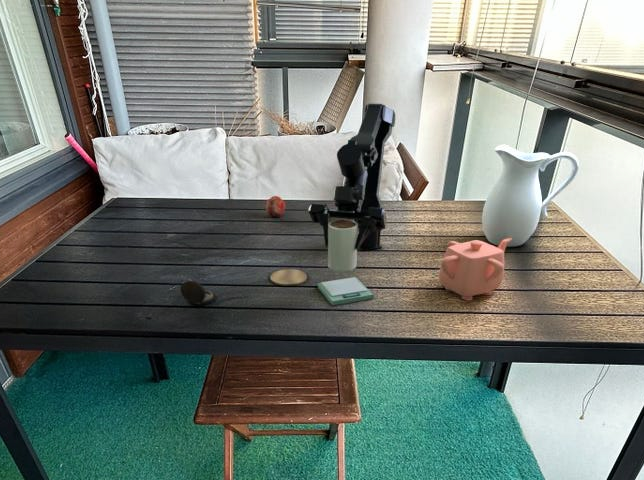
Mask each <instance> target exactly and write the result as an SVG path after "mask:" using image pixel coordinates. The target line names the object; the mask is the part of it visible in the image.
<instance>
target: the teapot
mask: <svg viewBox="0 0 644 480" xmlns="http://www.w3.org/2000/svg"><path fill="white" fill-rule="evenodd" d="M511 240H512V238H506V239H504V240H503V241H502V242H501V243H500V244H499V245H497V246H495V245H492V244H491V243H487V242H485V241H483V240H479V239H473V240H470V241H465V242H458V241H456V240H455V241H454V240H451V241H448V243H447V245H446V246H447V249H446V251H445V253H444V256H443V258H442V259H441V262H440V267H439V273H438V279H439V283H440V284H441V285H443V286H444V287H445V290H447V291H452V292H454V293H456V294H458V295H460V296H461V299H462V300H464V301H472V300H473V298H474V297H473V296H477V295H484V296H491V295H492V291H494V290H497V289H499V287H500V286H501V284H502V283H503V280H504V275H505V251H506V248H507V247H508V246H507V244H508V243H509V242H510V241H511Z"/></svg>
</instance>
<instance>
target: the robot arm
mask: <svg viewBox="0 0 644 480" xmlns="http://www.w3.org/2000/svg"><path fill="white" fill-rule="evenodd" d="M395 125H396V112H395V111H394V109H392V108H389V107H387V106H386V104H383V103H371V102H370V103H368V104H365V108H364V109H363V119H362V121H361V123H360V127H359V129H358V132H357V134H355V135H354V136H352V137H351V138H350V139H348V140H347V143H346V144H344V145H342V146H341V147H340V148H339V149H338V150H337V152H336V159H337V163H338V165H339V166H338V167H339V169H340V172H341V173H340V174H341V176H343V180H342V185H335V186H334V191H333V202H334V207H337V208H336V209H333V208H328V205H327V203H326V202H314V201H313V202H312V203H310V204H309V206H308V211H307V212H308V214H309V217H310V218H311V220H312V222H313V223H316V224H319V225H320V226H321V227H322V229H323V238H324V245H325V248H326V247H327V248H328V223H329V222H331V219H332V218H333V219H341V220H353V219H354V221H355V222H356V223H358V237H357V241H356V246H355V249H356V250H357V251H358V249H361V251H364V252H365V251H371V250H379V249H383V246H382V245H381V232H382V230H385V229H386V226H387V215H386V210H385V208H384V207H383V205H384V204H383V203H382V200H381V198H380V186H381V180H382V179H381V178H382V169H383V162H384V152H385V145H386V143H387V141H388V140H389V138H390V137H391V135H392V132H393V128H394V127H395Z"/></svg>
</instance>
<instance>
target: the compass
mask: <svg viewBox="0 0 644 480" xmlns="http://www.w3.org/2000/svg"><path fill="white" fill-rule="evenodd" d="M180 293H181V295H182V297H183V298H184V299H185V300H186V301H188V302H190V303H191V304H193V305H197V306H198V305H199V306H201V305H202V306H203V305H207V304H210V303H212V302H213V301H214V300H215V294H214V293H213V292H211V291H209V290H205V287H204V286H203V285H202V284H201V283H200V282H198V281H196V280H194V279H193V278H192V279H187V280H185V281H183V282H182V284H181V285H180Z"/></svg>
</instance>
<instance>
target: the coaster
mask: <svg viewBox="0 0 644 480" xmlns="http://www.w3.org/2000/svg"><path fill="white" fill-rule="evenodd" d="M307 280H308V275H307V273H306V272H304V271H302V270H299V269H292V268H287V269H279V270H277V271H274V272H272V274H271V275H270V281H271V283H273V284H275V285H278V286H284V287H285V286H286V287H291V286H297V285H300V284H304V282H306V281H307Z"/></svg>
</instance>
